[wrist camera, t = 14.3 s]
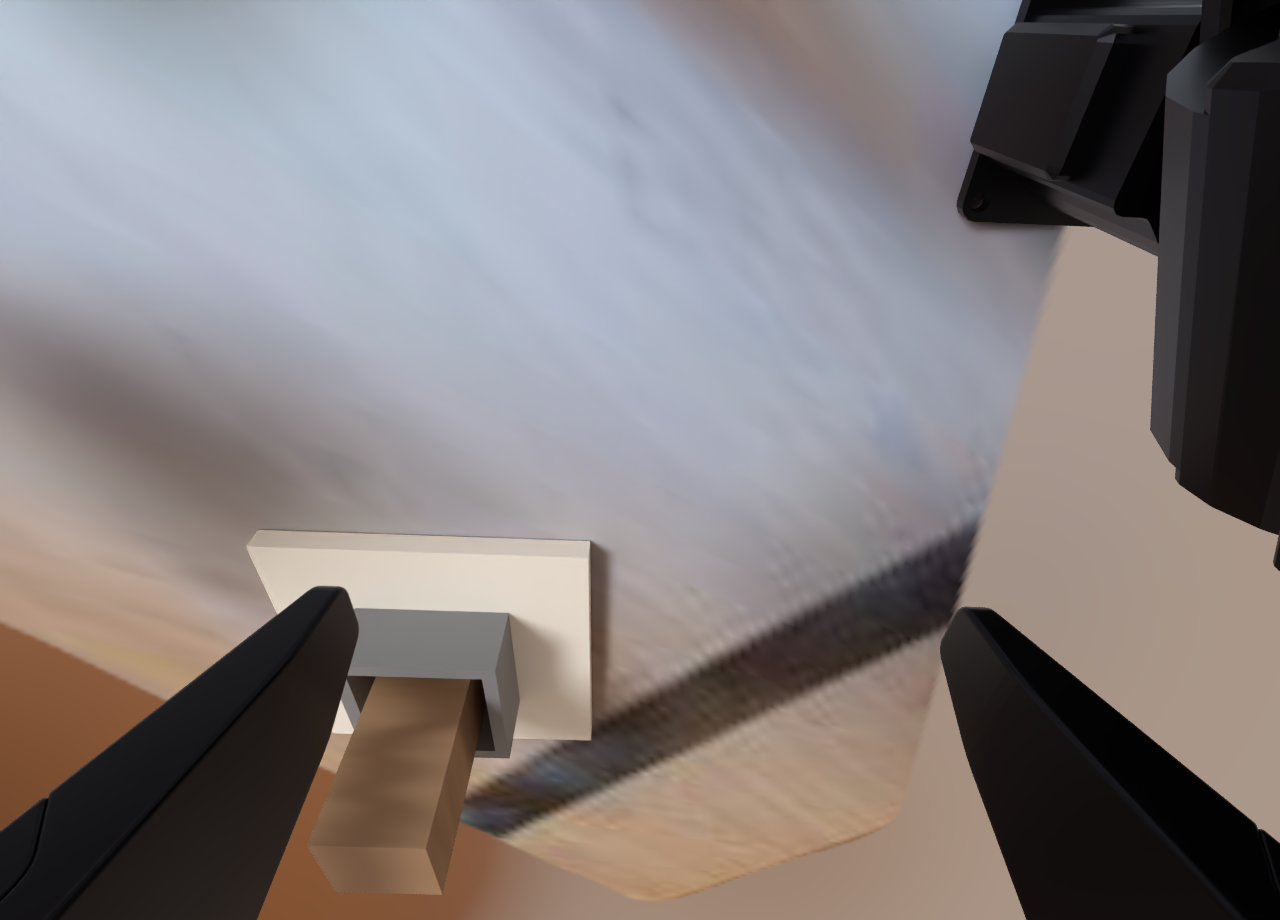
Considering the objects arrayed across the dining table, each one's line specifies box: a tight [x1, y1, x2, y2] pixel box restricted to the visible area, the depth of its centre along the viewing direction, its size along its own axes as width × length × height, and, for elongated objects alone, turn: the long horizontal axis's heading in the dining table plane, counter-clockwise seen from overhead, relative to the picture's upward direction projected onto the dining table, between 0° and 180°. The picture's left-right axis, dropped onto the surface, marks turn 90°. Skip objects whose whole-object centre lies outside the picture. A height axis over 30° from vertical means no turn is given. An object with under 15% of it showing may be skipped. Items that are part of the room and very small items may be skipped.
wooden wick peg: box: [307, 676, 486, 895], centre depth 26 cm, size 4×4×9 cm
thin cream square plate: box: [246, 530, 592, 758], centre depth 28 cm, size 14×14×4 cm
